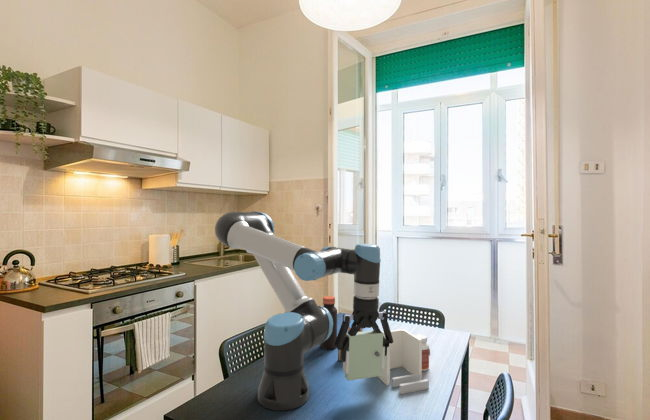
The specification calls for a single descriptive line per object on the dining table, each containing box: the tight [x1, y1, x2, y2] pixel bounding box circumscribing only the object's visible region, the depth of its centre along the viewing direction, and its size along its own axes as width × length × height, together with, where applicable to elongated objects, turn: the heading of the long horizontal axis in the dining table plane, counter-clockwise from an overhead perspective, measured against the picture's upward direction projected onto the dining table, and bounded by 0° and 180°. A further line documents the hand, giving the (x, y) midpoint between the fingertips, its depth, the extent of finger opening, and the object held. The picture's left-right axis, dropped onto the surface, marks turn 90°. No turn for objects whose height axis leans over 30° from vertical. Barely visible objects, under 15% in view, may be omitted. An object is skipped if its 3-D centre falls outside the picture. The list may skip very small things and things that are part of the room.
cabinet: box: [376, 328, 430, 395], centre depth 114 cm, size 13×17×13 cm
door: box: [344, 330, 384, 381], centre depth 103 cm, size 11×4×13 cm, turn 110°
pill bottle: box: [414, 333, 430, 372], centre depth 122 cm, size 6×6×11 cm
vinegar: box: [319, 295, 338, 351], centre depth 140 cm, size 7×7×20 cm
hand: (363, 369), depth 103 cm, fingers closed on door, 11 cm apart
